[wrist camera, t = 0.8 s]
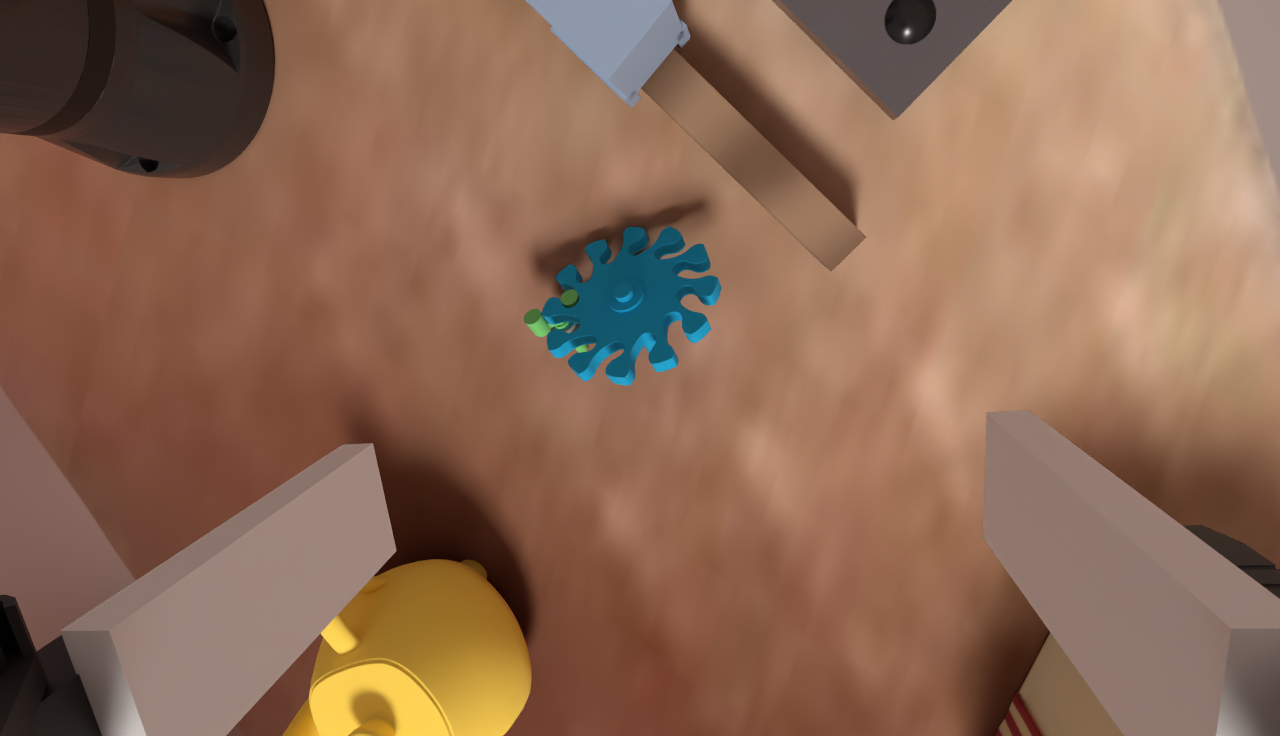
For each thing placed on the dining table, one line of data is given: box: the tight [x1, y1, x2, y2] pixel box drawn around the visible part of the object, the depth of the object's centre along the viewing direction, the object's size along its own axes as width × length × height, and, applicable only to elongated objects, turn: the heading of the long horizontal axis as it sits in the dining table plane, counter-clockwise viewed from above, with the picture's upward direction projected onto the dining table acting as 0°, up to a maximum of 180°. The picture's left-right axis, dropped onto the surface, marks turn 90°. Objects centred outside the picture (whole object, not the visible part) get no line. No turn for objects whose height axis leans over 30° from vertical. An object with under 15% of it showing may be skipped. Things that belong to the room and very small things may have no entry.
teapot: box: [282, 559, 532, 736], centre depth 41 cm, size 14×14×12 cm
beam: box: [641, 49, 866, 271], centre depth 35 cm, size 28×2×3 cm, turn 48°
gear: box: [524, 226, 721, 385], centre depth 37 cm, size 11×6×10 cm
